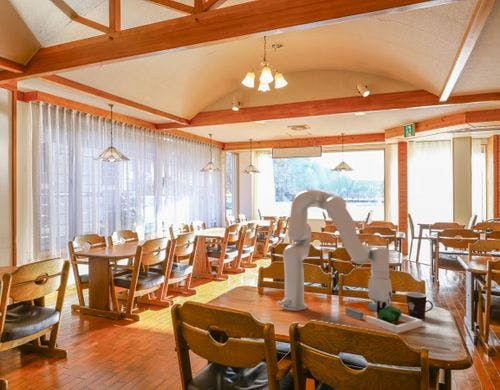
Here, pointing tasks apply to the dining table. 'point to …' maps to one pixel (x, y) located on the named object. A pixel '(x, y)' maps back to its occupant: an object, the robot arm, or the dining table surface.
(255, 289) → the dining table surface
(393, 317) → the green lumpy block
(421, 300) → the coffee mug
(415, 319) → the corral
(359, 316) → the vise
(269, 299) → the dining table surface
